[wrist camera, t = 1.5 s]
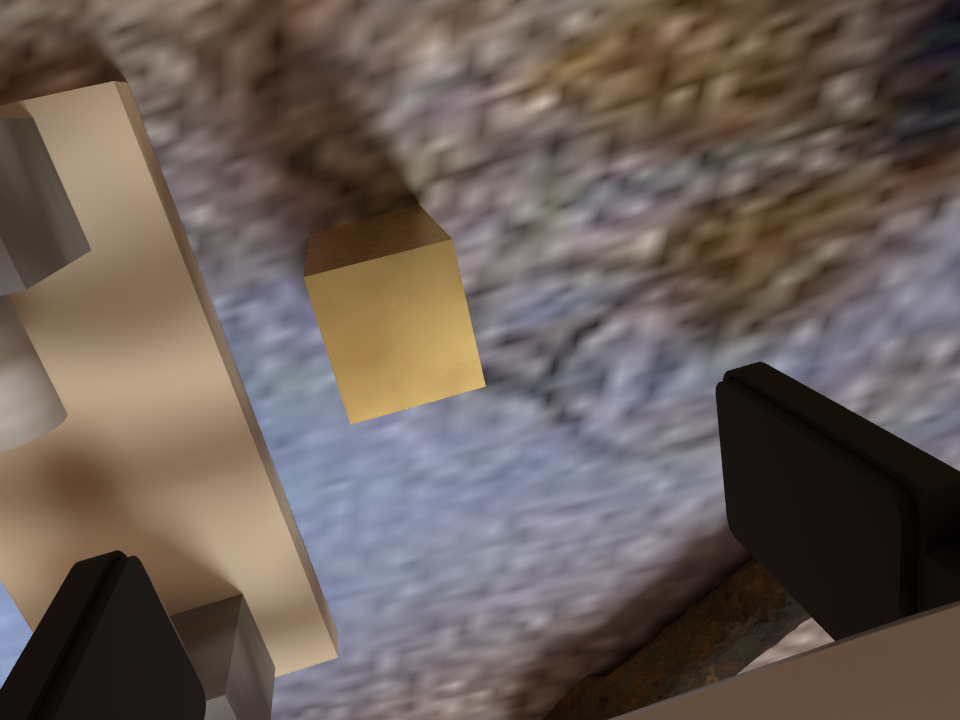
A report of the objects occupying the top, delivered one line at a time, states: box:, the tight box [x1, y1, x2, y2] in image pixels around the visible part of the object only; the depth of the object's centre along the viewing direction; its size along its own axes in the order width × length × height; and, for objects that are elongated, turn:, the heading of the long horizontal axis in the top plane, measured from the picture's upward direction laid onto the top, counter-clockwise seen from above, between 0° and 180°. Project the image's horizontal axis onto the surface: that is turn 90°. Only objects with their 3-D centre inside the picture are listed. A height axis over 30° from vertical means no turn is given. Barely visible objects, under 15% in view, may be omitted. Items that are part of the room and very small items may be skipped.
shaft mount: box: [0, 81, 338, 720], centre depth 22 cm, size 23×10×6 cm, turn 12°
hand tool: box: [544, 557, 811, 720], centre depth 32 cm, size 19×4×5 cm, turn 127°
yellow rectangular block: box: [303, 205, 485, 424], centre depth 22 cm, size 4×4×7 cm
